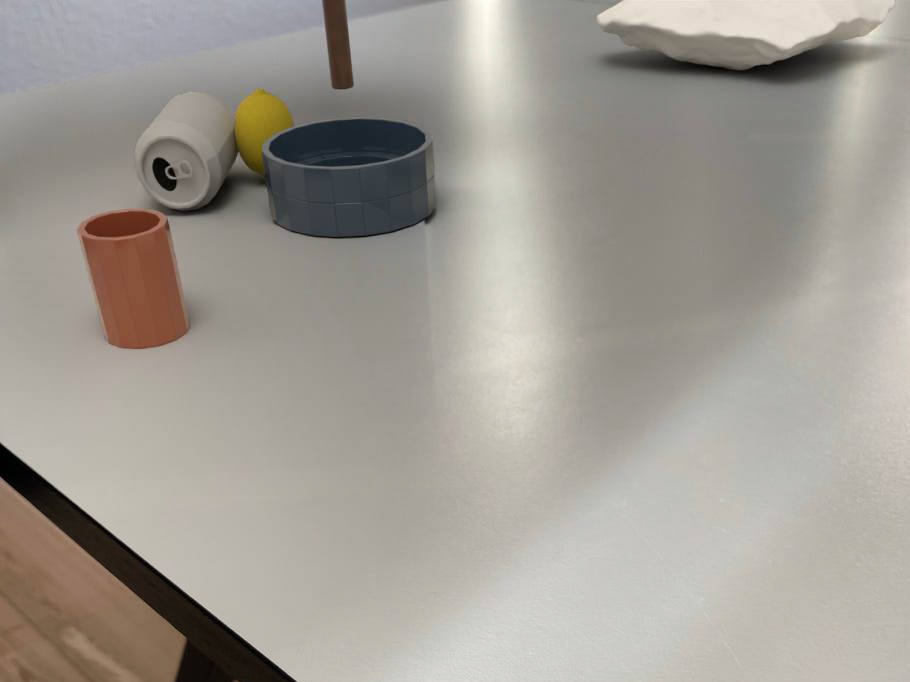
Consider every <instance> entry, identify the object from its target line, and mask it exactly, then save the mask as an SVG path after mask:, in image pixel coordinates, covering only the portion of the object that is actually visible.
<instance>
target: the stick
mask: <svg viewBox="0 0 910 682" xmlns="http://www.w3.org/2000/svg"><path fill="white" fill-rule="evenodd" d="M346 2H347V1H346V0H321V3H322V12H323V21H324V30H325V39H326V40H325V41H326V47H327V58H328V65H329V75H330V84H331V88H332V89H334V90H340V91H341V90H348V89H353V88H354V87H355V84H354V83H355V81H354V74H353V73H354V72H353V64H352V63H353V61H352V54H351V53H352V52H351V43H350V33H349V23H348V11H347V3H346Z"/></svg>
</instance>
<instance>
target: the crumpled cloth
mask: <svg viewBox="0 0 910 682" xmlns="http://www.w3.org/2000/svg"><path fill="white" fill-rule="evenodd" d="M896 2H897V0H621V1H620V2H618V3H617V4H615V5H613V6H612V7H610V8H607V9H606V10H604V11H602V12H601V13H599V14H597V17H596V25H597V26H598V27H599V29H600V30H601V31H602V32H604V33H607V34H612V35H616V36H618V37H619V39H620V42H621V43H622V44H623V45H626V46H629V47H634V48H637V49H639V50H644V51H655V52H658V53H661V54H663V55H664V56H667V57H669V58H671V59H673V60H675V61H679V62H688V63H692V64H696V65H703V66H710V67H713V68H714V67H715V68H723V69H726V70H732V71H745V70H749V69H752V68H754V67H755V66H761V65H771V64H773V63H775V62H777V61H778V62H779V61H784V60H787V59H789V58H793V57H794V56H799V55H800V54H802V53H804V52H807V51H810V50H813V49H817V48H818V47H820V46H825V45H828V44H829V45H830V44H833V43H838V42H839V43H840V42H843V41H848V40H853V39H856V38H860V37H861V38H862V37H865V36H868V35H869V34H870V33H872V32H873V31H874V30H875V29H876V28H878V27H879V26H880V25H882V24H883V23H884V22H885V21H886V20H887V18H888V16H889V13H891V12H892V10H893V9H894V7H895V4H896Z"/></svg>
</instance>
